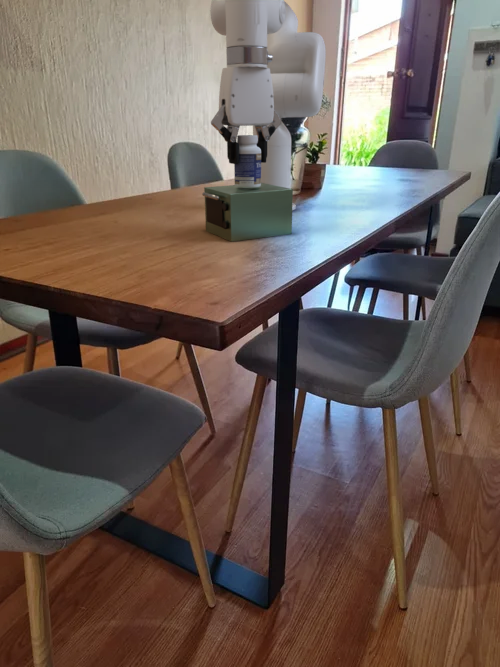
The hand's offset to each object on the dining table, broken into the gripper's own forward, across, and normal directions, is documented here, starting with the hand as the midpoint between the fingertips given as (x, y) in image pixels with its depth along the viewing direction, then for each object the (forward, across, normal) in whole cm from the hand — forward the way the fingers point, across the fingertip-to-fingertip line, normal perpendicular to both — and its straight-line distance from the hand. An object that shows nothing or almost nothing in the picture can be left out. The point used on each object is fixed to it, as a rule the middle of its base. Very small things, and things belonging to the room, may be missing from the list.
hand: (247, 161), depth 101 cm
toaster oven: (+14, 0, 0) cm, 14 cm away
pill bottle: (+5, 0, 0) cm, 5 cm away
